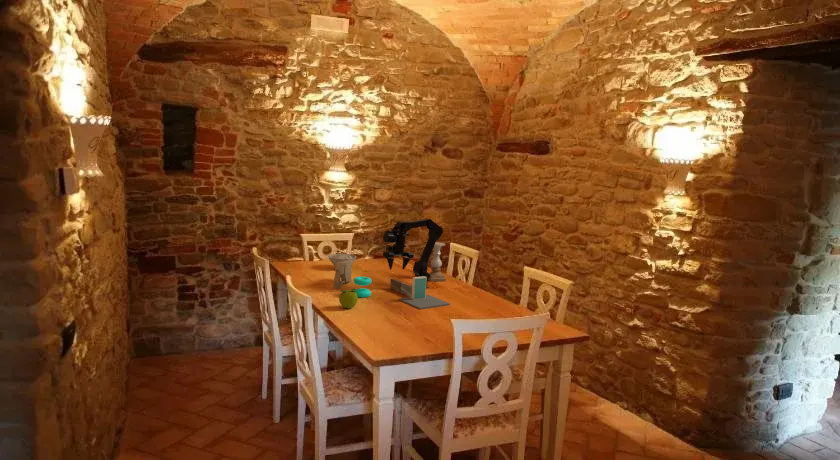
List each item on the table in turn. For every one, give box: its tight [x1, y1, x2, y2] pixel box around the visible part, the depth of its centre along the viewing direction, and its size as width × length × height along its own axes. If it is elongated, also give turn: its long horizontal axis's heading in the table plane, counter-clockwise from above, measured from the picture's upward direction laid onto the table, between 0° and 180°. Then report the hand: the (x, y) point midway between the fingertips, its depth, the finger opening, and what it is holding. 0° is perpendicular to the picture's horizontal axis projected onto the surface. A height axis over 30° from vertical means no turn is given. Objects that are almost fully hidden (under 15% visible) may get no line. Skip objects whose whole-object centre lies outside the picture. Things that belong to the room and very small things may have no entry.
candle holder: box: [428, 241, 447, 283], centre depth 342 cm, size 11×11×24 cm
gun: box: [333, 260, 354, 290], centre depth 316 cm, size 24×3×15 cm, turn 168°
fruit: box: [338, 288, 359, 310], centre depth 269 cm, size 9×9×10 cm
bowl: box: [327, 253, 357, 267], centre depth 359 cm, size 19×19×10 cm
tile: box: [411, 276, 427, 300], centre depth 290 cm, size 8×2×12 cm, turn 125°
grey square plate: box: [398, 294, 451, 310], centre depth 287 cm, size 20×20×1 cm
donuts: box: [353, 276, 373, 298], centre depth 293 cm, size 10×10×10 cm
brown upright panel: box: [389, 278, 412, 297], centre depth 304 cm, size 2×22×6 cm, turn 35°
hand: (396, 269), depth 308 cm, fingers open, 9 cm apart
